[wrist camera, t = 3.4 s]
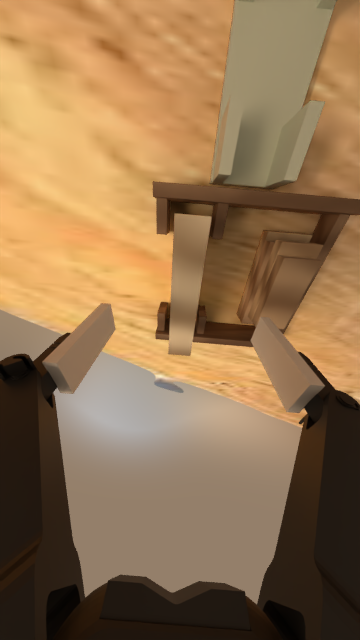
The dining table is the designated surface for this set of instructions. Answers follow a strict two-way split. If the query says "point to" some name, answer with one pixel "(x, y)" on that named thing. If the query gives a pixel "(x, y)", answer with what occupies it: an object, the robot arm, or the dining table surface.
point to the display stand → (269, 92)
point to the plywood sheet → (186, 278)
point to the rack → (260, 255)
